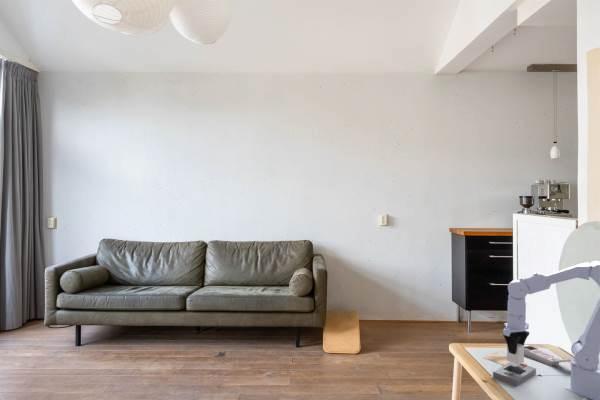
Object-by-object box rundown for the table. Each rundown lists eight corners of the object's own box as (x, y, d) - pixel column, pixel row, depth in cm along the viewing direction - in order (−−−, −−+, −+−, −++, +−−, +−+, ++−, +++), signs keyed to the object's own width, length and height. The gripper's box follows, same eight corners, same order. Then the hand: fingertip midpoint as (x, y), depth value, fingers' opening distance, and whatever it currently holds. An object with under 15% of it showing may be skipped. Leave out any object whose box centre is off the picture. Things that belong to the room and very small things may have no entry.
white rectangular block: (523, 362, 137) (524, 345, 136) (518, 364, 134) (518, 347, 134) (512, 358, 140) (512, 341, 140) (506, 360, 138) (507, 344, 137)
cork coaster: (519, 362, 150) (519, 360, 150) (507, 367, 144) (507, 366, 144) (495, 353, 158) (495, 352, 158) (483, 358, 152) (483, 357, 152)
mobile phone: (571, 360, 139) (510, 335, 162) (570, 376, 139) (509, 349, 163) (581, 358, 142) (520, 334, 165) (580, 373, 142) (519, 348, 165)
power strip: (512, 368, 145) (512, 358, 145) (535, 376, 139) (536, 366, 139) (492, 379, 135) (493, 369, 135) (516, 389, 129) (517, 378, 129)
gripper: (515, 308, 144) (514, 344, 144) (494, 314, 136) (493, 352, 136) (535, 313, 138) (534, 350, 139) (515, 320, 130) (514, 359, 130)
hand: (515, 351), depth 137 cm, fingers closed on white rectangular block, 4 cm apart
